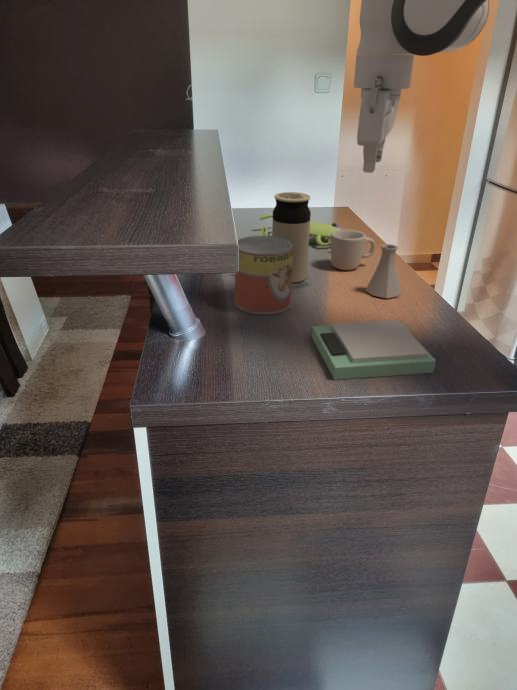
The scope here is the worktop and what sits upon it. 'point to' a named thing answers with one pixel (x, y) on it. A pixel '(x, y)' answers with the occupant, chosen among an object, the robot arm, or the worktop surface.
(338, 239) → the cup
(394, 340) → the scale
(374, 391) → the worktop surface
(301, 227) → the travel mug
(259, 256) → the canned food
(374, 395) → the worktop surface
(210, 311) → the worktop surface
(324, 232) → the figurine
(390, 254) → the flask
